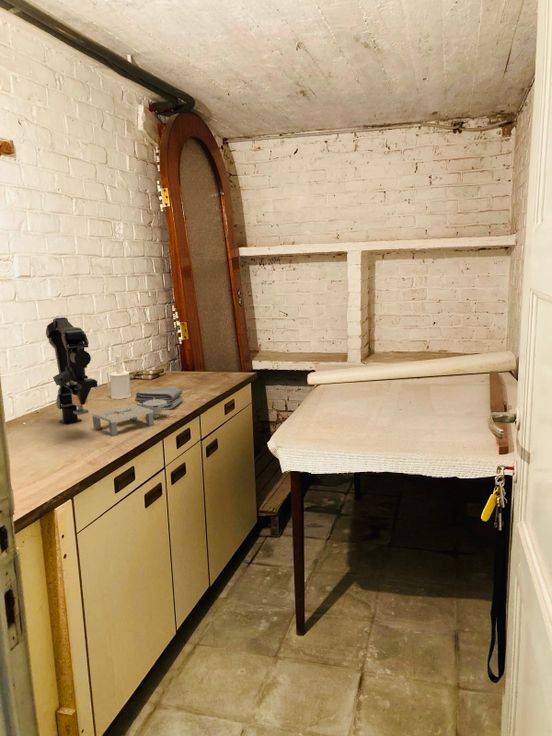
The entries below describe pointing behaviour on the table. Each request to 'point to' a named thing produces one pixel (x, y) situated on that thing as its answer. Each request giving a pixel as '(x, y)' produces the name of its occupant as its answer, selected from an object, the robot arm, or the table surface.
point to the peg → (78, 404)
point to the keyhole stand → (122, 416)
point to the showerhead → (155, 406)
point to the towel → (161, 396)
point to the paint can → (119, 381)
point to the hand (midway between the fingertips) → (80, 403)
